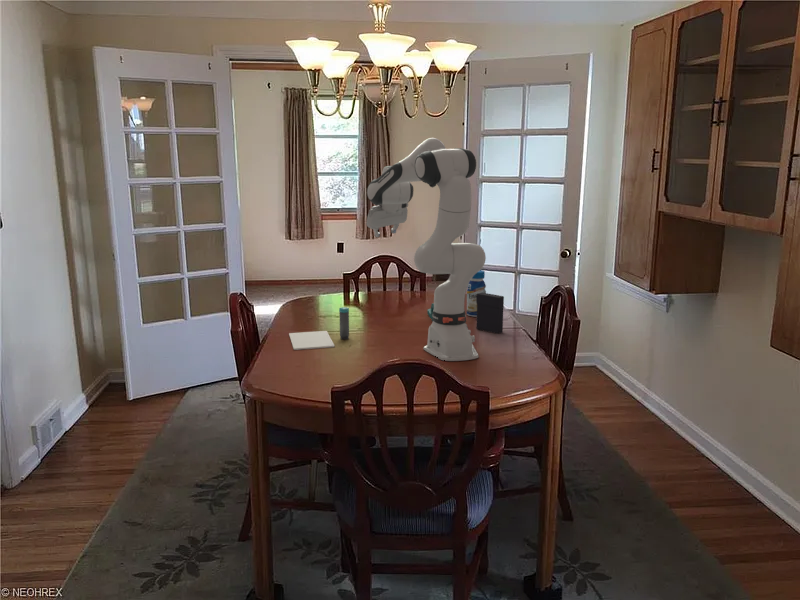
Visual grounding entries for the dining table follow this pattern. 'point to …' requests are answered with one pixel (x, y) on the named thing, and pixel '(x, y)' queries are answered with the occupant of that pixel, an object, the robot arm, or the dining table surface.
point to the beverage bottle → (475, 292)
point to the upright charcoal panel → (490, 312)
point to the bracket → (430, 311)
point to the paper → (311, 340)
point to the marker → (344, 323)
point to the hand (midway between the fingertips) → (385, 234)
